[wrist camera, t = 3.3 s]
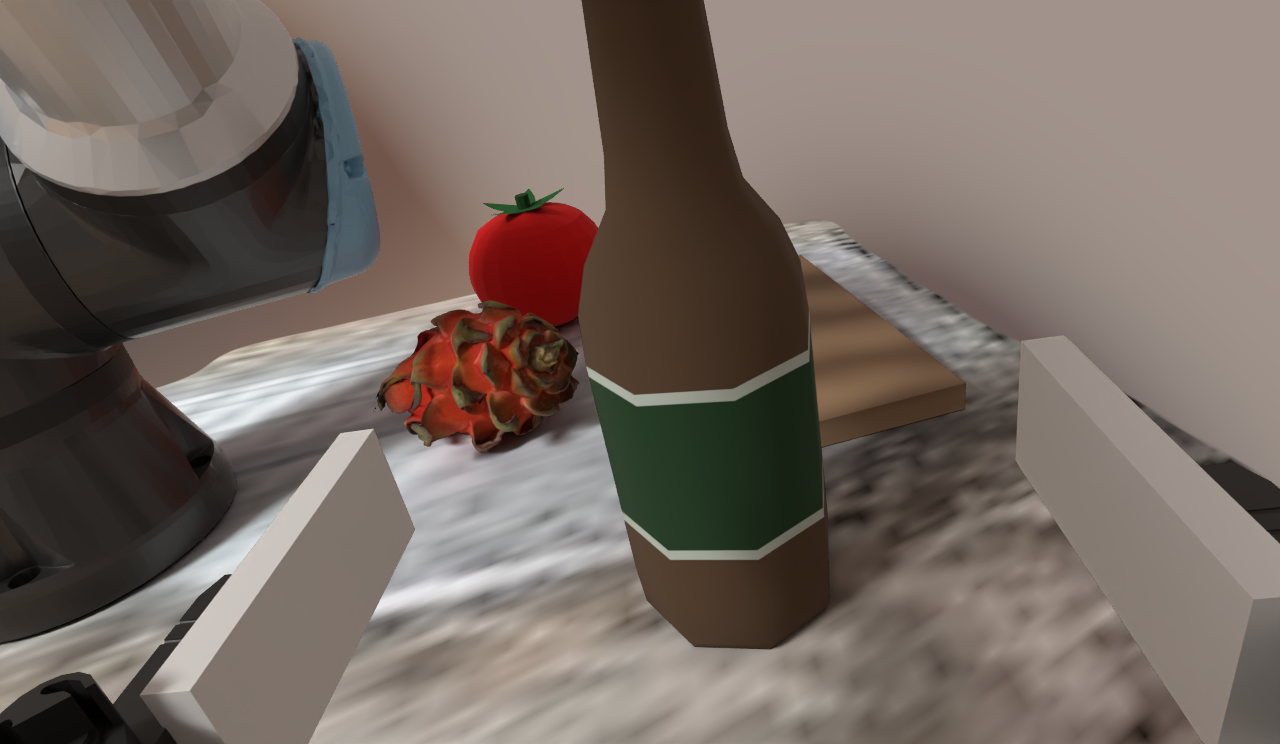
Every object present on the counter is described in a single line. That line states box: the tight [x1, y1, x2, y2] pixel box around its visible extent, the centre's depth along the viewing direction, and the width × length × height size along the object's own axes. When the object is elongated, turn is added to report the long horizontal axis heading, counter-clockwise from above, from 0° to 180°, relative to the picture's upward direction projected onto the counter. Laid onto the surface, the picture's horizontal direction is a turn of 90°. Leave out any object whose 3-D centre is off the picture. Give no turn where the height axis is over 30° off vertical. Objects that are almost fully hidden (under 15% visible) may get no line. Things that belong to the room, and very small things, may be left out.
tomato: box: [469, 188, 598, 327], centre depth 56 cm, size 10×10×10 cm
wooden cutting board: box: [799, 255, 966, 447], centre depth 47 cm, size 22×14×2 cm, turn 11°
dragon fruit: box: [373, 301, 579, 452], centre depth 43 cm, size 8×8×12 cm
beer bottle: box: [578, 0, 829, 649], centre depth 25 cm, size 8×8×24 cm
